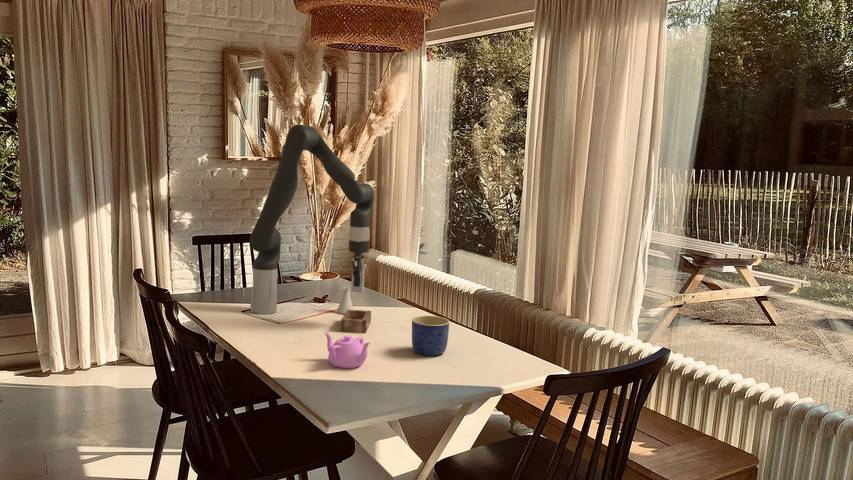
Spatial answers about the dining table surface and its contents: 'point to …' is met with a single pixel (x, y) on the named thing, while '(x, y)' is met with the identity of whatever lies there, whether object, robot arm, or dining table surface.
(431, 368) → the dining table surface
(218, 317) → the dining table surface
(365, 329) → the rectangular wooden frame
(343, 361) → the teapot
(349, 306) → the flask
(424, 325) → the planter
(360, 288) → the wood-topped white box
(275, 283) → the robot arm
